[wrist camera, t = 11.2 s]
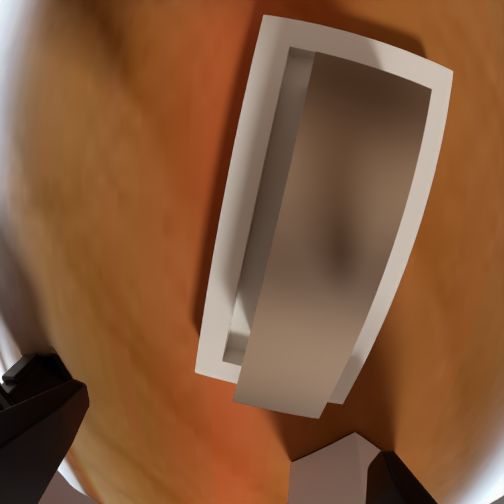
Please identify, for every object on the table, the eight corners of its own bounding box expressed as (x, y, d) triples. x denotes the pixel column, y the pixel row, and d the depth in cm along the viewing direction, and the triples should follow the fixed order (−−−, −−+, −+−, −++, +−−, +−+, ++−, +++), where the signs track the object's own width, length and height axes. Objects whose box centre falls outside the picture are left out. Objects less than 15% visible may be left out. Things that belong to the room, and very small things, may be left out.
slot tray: (339, 379, 20) (342, 404, 18) (204, 349, 21) (194, 372, 19) (434, 79, 14) (453, 71, 11) (268, 31, 14) (263, 14, 12)
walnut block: (315, 345, 19) (318, 418, 13) (250, 331, 19) (232, 401, 13) (385, 107, 14) (432, 89, 8) (308, 85, 14) (315, 51, 8)
